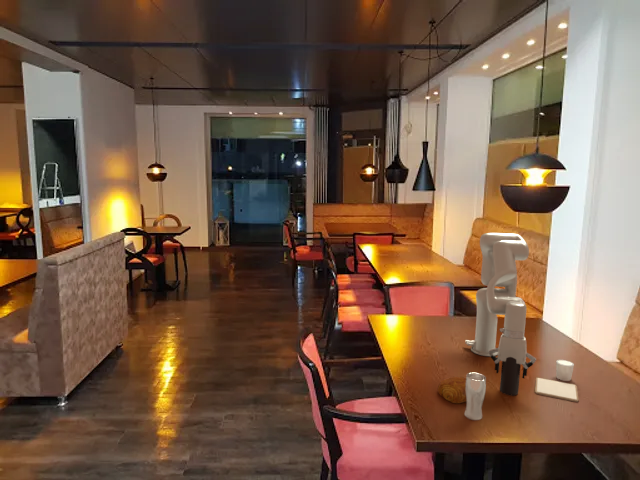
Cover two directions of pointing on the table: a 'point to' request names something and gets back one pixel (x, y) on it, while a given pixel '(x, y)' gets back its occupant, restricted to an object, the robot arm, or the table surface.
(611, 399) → the table surface
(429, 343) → the table surface
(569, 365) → the short white cylinder
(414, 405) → the table surface
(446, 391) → the croissant
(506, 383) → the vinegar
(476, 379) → the beer glass
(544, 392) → the plate
